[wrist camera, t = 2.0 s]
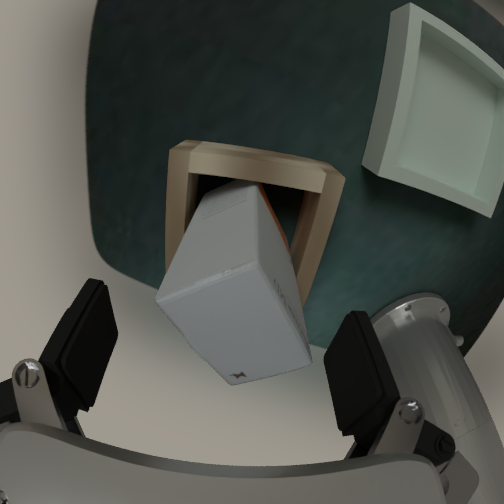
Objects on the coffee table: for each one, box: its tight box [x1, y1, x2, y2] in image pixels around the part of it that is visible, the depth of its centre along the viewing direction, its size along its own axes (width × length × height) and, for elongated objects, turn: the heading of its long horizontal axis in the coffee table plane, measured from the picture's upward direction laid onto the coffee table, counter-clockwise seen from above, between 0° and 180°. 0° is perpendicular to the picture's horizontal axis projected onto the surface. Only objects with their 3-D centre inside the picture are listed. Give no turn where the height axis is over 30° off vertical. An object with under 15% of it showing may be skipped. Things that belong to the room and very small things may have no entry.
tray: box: [361, 3, 504, 218], centre depth 14 cm, size 13×13×3 cm
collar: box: [165, 140, 346, 310], centre depth 19 cm, size 10×10×4 cm
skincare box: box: [155, 179, 312, 385], centre depth 15 cm, size 6×4×12 cm
